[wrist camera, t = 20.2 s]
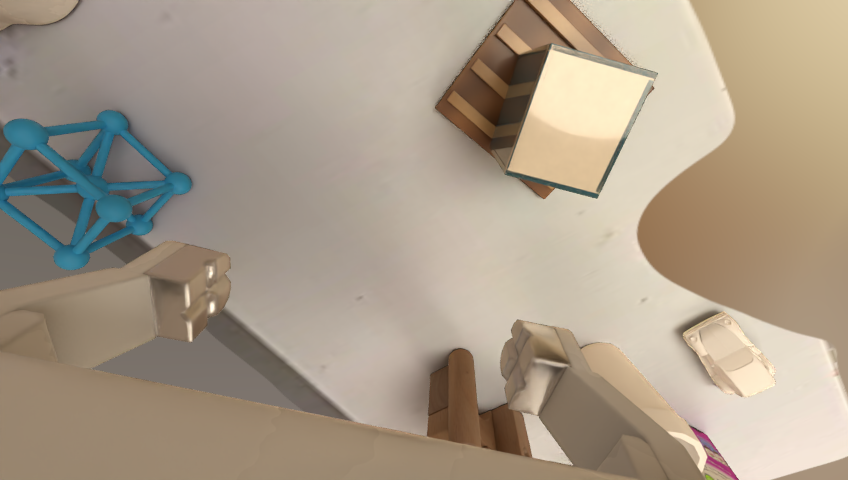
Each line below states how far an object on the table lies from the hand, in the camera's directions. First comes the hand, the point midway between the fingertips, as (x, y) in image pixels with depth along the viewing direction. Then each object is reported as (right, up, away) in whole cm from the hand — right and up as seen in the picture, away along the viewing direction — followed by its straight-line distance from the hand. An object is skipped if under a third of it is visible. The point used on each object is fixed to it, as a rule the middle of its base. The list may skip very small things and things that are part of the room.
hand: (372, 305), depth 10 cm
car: (+37, -11, +32) cm, 51 cm away
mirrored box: (+10, +8, +18) cm, 22 cm away
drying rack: (+12, +15, +22) cm, 29 cm away
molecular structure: (-29, +9, +28) cm, 41 cm away
